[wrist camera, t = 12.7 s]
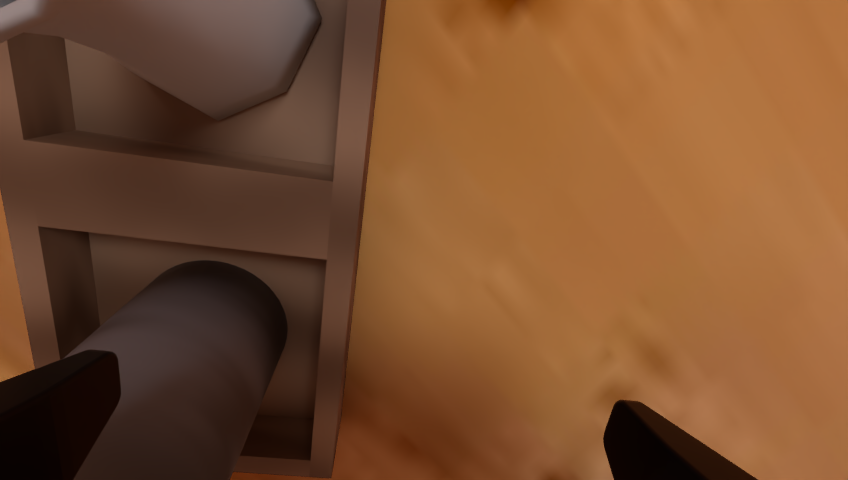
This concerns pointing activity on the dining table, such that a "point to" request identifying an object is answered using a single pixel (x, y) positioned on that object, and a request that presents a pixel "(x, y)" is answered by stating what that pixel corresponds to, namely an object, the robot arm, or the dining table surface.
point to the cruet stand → (194, 247)
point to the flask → (184, 42)
